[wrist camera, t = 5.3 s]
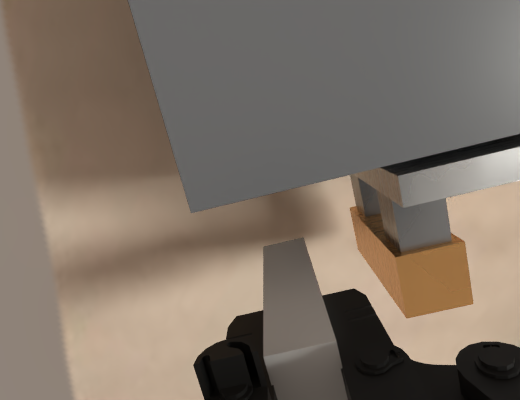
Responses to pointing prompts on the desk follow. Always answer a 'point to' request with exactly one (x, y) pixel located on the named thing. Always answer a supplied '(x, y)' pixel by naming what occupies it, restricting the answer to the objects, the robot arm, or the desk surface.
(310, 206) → the desk surface
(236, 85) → the case
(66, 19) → the desk surface
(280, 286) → the robot arm
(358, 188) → the side door
